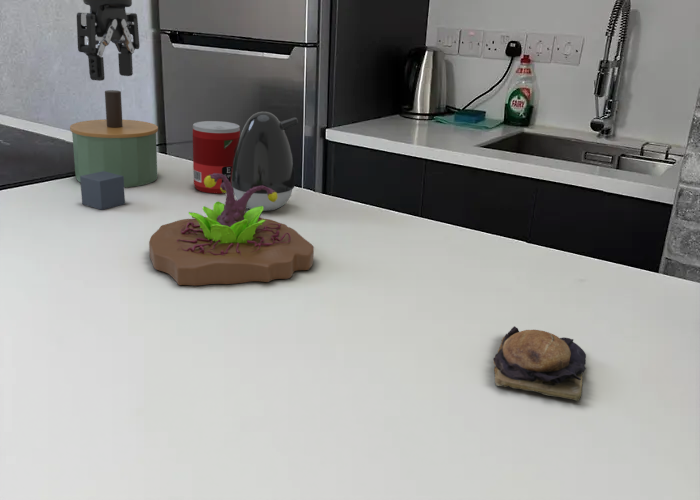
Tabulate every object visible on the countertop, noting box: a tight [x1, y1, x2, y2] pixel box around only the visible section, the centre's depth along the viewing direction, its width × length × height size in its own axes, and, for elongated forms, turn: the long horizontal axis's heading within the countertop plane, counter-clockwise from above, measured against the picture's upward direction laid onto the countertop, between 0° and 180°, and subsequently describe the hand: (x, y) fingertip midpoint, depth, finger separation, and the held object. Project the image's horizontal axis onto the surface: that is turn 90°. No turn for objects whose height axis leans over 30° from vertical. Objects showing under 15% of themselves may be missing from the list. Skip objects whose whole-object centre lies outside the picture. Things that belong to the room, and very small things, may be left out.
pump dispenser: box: [230, 111, 299, 212], centre depth 107 cm, size 10×10×15 cm
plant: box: [148, 173, 315, 287], centre depth 86 cm, size 20×20×11 cm
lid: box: [69, 89, 159, 138], centre depth 117 cm, size 14×14×7 cm
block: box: [79, 171, 126, 211], centre depth 105 cm, size 4×4×4 cm
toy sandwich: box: [492, 326, 587, 402], centre depth 65 cm, size 11×8×4 cm
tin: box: [71, 132, 158, 188], centre depth 120 cm, size 14×14×8 cm
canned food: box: [192, 120, 241, 195], centre depth 117 cm, size 8×8×11 cm
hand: (112, 77), depth 115 cm, fingers open, 8 cm apart
